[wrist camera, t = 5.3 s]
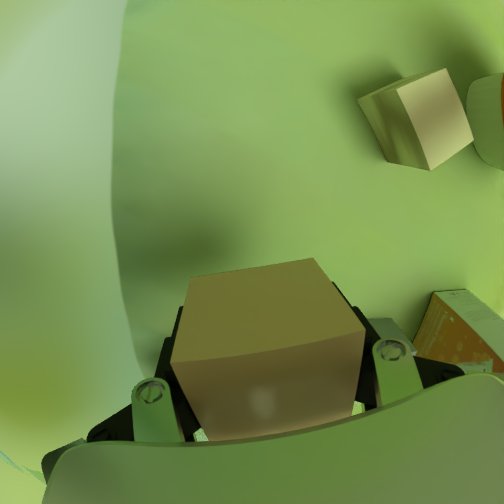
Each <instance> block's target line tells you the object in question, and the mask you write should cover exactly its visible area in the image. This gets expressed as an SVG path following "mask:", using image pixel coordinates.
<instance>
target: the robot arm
mask: <svg viewBox="0 0 504 504" xmlns="http://www.w3.org/2000/svg"><path fill="white" fill-rule="evenodd" d="M332 283H333V285H334V286H335V287H336V289H337V290H338V292H339V293H340V294H341V296H342V297H343V298H344V300H345V301H346V302H347V304H348V305H349V307H350V308H351V309H352V311H353V312H354V313H355V315H356V316H357V318H358V319H359V320H360V322H361V323H362V325H363V326H364V327H365V329H366V331H365V339H364V347H363V354H362V361H361V367H360V373H359V379H358V385H357V390H356V395H355V400H354V401H358V402H361V403H362V404H361V406H362V413H360V414H357V415H353V416H350V417H347V418H343V419H340V420H336V421H332V422H328V423H325V424H321V425H316V426H312V427H308V428H303V429H298V430H293V431H288V432H283V433H277V434H271V435H265V436H258V437H250V438H241V439H232V440H220V441H203V442H197V438H196V435H195V432H196V431H197V430H198V429H200V428H202V427H201V425H200V423H199V422H198V420H197V418H196V416H195V414H194V412H193V410H192V408H191V406H190V404H189V402H188V400H187V398H186V396H185V394H184V392H183V390H182V388H181V386H180V384H179V382H178V379H177V377H176V375H175V373H174V371H173V368H172V366H171V364H170V361H171V356H172V352H173V348H174V343H175V339H176V335H177V331H178V327H179V323H180V319H181V315H182V311H183V307H184V306H180V307H179V310H178V314H177V318H176V321H175V325H174V329H173V333H172V337H166V338H165V340H164V343H163V347H162V350H161V354H160V357H159V361H158V365H157V369H156V372H155V376H154V378H148V379H145V380H142V381H141V382H139V383H138V384H137V385H136V386H135V387H134V389H133V390H132V396H131V398H132V403H131V404H130V405H128V406H127V407H125V408H123V409H122V410H120V411H119V412H117V413H116V414H114V415H112V416H111V417H109V418H108V419H106V420H104V421H103V422H101V423H100V424H98V425H97V426H95V427H94V428H92V429H91V431H90V432H89V433H88V436H87V439H86V440H84V439H83V438H81V439H78V440H76V441H74V442H72V443H70V444H67V445H65V446H63V447H61V448H58V449H56V450H54V451H52V452H49V453H47V454H46V455H45V456H44V457H43V459H42V462H41V465H42V471H43V474H44V478H45V481H46V484H47V487H46V490H45V494H44V497H43V500H42V504H504V373H493V372H479V371H468V372H467V373H464V371H463V370H462V369H461V368H460V367H458V366H456V365H453V364H449V363H445V362H440V361H435V360H431V359H426V358H422V357H418V356H413V355H412V352H411V350H410V347H409V346H408V344H407V343H406V342H405V341H403V340H401V339H399V338H394V337H387V338H383V339H381V337H380V336H379V335H378V333H377V332H376V331H375V329H374V328H373V327H372V325H371V324H370V323H369V321H368V320H367V319H366V317H365V316H364V315H363V313H362V312H361V311H360V309H359V308H358V307H357V306H353V307H352V306H351V304H350V303H349V302H348V300H347V299H346V298H345V296H344V295H343V294H342V292H341V291H340V290H339V288H338V287H337V286H336V284H335V283H334V282H332Z"/></svg>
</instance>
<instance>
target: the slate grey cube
mask: <svg viewBox="0 0 504 504" xmlns="http://www.w3.org/2000/svg"><path fill="white" fill-rule="evenodd" d="M367 320H368V321H369V323H370V324H371V325H372V327H373V328H374V329H375V331H376V332H377V333H378V335H379V336H380V337H381V339H383V338H387V337H394V338H399V339H401V340H403V341H405V342H406V343H407V344H408V346H409V347H410V350H411V352H412V355H413V356H415V355H416V353H417V350H416V348H415V347H414V346H413V345H412V343H411V342H410V341H409V340H408V338H407V337H406V336H405V335H404V333H403V332H402V331H401V330H400V328H399V327H398V326H397V325H396V323H395V322H394V321H393V320H392V319H391V318H384V319H367Z"/></svg>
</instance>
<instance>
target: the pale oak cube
mask: <svg viewBox="0 0 504 504" xmlns="http://www.w3.org/2000/svg"><path fill="white" fill-rule="evenodd" d="M357 102H358V103H359V105H360V107H361V109H362V111H363V112H364V114H365V116H366V118H367V120H368V122H369V124H370V126H371V128H372V130H373V132H374V134H375V136H376V138H377V140H378V142H379V144H380V146H381V148H382V151H383V153H384V155H385V157H386V160H387V162H389V163H395V164H400V165H405V166H410V167H415V168H419V169H424V170H428V171H431V170H433V169H434V168H436V167H437V166H439V165H440V164H441V163H443V162H444V161H446V160H447V159H448V158H450V157H451V156H453V155H454V154H455V153H457V152H458V151H460V150H461V149H462V148H464V147H465V146H467V145H468V144H469V143H471V142H472V141H473V140H474V139H473V135H472V132H471V129H470V126H469V123H468V120H467V117H466V114H465V112H464V109H463V106H462V104H461V101H460V99H459V96H458V94H457V91H456V89H455V87H454V85H453V82H452V80H451V78H450V76H449V74H448V72H447V69H446V68H444V69H439V70H435V71H430V72H426V73H422V74H417V75H413V76H410V77H406V78H403V79H400V80H398V81H396V82H393V83H391V84H389V85H387V86H384V87H382V88H380V89H378V90H376V91H373V92H371V93H369V94H367V95H365V96H363V97H361V98H359V99H357Z"/></svg>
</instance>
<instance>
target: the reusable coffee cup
mask: <svg viewBox="0 0 504 504" xmlns="http://www.w3.org/2000/svg"><path fill="white" fill-rule="evenodd" d="M466 115H467V120H468V123H469V126H470V129H471V132H472V135H473V139H474V140H473V144H474V146H475V148H476V150H477V152H478V154H479V155H480V157H481V158H482V159H483V160H484V161H485V162H486V163H487V164H489V165H491V166H493V167H496V168H498V169H500V170H503V171H504V72H503V73H499V74H495V75H491V76H487V77H484V78H480V79H476V80H475V81H473V82H472V83H471V85H470V86H469V89H468V92H467V98H466Z"/></svg>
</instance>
